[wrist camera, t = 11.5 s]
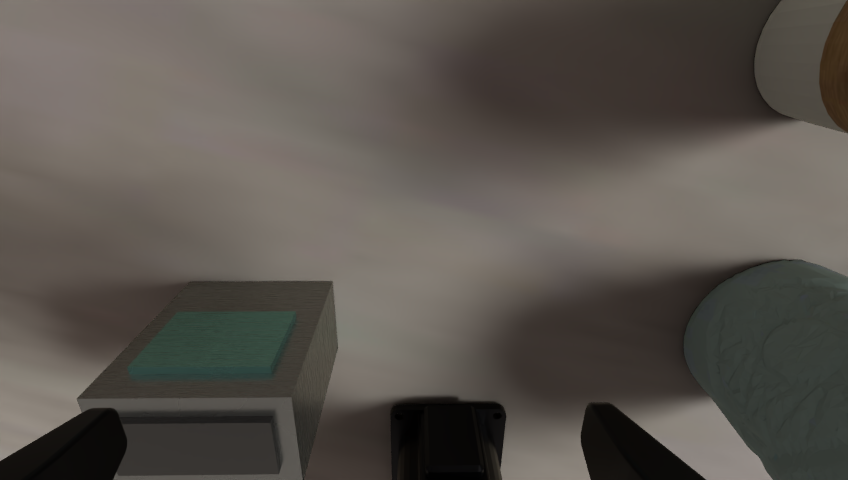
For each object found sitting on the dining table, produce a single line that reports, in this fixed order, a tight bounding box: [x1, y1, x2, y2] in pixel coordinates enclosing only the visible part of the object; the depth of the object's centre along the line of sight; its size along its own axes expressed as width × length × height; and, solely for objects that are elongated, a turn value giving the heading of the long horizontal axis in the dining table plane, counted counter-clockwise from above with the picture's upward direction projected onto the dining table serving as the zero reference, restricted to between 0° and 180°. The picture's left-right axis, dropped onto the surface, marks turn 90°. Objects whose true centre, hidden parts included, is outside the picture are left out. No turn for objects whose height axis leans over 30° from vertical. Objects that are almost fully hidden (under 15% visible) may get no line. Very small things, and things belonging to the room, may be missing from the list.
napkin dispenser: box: [77, 282, 338, 480], centre depth 19 cm, size 4×7×8 cm, turn 89°
